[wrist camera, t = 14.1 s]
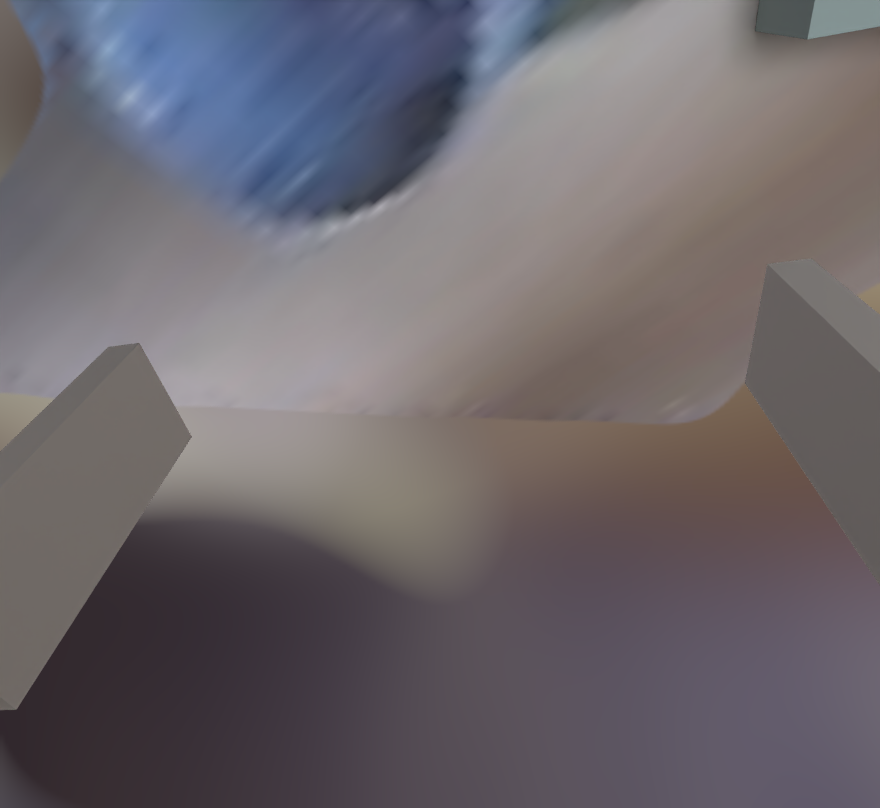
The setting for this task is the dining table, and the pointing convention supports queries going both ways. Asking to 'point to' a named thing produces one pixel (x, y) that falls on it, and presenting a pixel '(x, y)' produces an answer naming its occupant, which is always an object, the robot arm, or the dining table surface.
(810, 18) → the teal angle bracket
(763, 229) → the dining table surface
